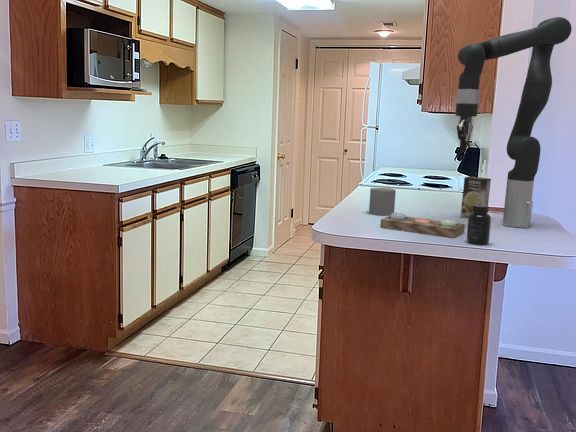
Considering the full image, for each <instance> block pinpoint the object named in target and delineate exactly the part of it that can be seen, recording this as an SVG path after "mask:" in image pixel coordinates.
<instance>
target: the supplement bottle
mask: <svg viewBox="0 0 576 432" xmlns="http://www.w3.org/2000/svg"><path fill="white" fill-rule="evenodd" d="M472 211H473V213H471V214H470V215H469V217H468V218H467V219H468V220H467V231H466V242H467V243H468V244H471V245H477V246H483V245H485V246H486V245H488V244H489V242H490V237H491V236H490V235H491V234H490V233H491V223H492V216H491V215H490V214H488V213H489V211H490V210H489V205H488V206H486V205H473V208H472Z"/></svg>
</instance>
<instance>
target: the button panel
mask: <svg viewBox="0 0 576 432" xmlns="http://www.w3.org/2000/svg"><path fill="white" fill-rule="evenodd" d="M415 219H424V218H421V217H413V216H406V215H405V220H396V219H391V216H385V217H383V218H380V227H379V228H380V229H387V228H388V229H389V230H394V229H396V230H395V231H401V230H404V231H403V232H408V231H411V232H410V233H415V232H418V233H417V234H422V233H423V235H431V236H437V237H444V238H452V239H455V238H457V237H459V236H460V235H462V234H464V233H465V228H466V227H465V225H466V224H465V223H460V222H456V227H448V226H441V220H438V219H430V218H429V219H428V218H425V219H426V220H430V223H428V224H426V223H418V222H415ZM388 229H387V230H388Z"/></svg>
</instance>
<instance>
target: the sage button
mask: <svg viewBox="0 0 576 432" xmlns="http://www.w3.org/2000/svg"><path fill="white" fill-rule="evenodd" d="M440 221H441V226H448V227H456V223H457V220H455V219H449V218H448V219H447V218H443V219H441V220H440Z"/></svg>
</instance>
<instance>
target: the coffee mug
mask: <svg viewBox="0 0 576 432" xmlns="http://www.w3.org/2000/svg"><path fill="white" fill-rule="evenodd" d="M396 191H397V189H395V188H391V187H380V186H379V187H377V186H375V187H371V188H370V190H369V206H368V214H369V215H372V216H378V217H379V216H380V217H389V216H391V213H395V207H396V206H395V205H396V193H397V192H396Z"/></svg>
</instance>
